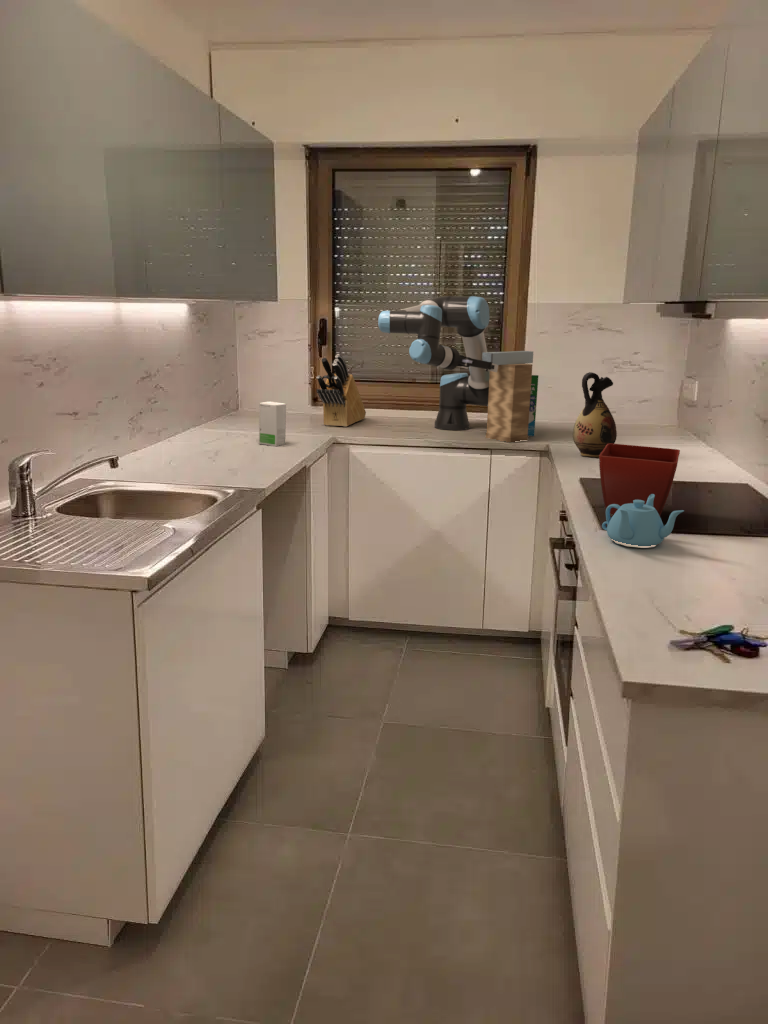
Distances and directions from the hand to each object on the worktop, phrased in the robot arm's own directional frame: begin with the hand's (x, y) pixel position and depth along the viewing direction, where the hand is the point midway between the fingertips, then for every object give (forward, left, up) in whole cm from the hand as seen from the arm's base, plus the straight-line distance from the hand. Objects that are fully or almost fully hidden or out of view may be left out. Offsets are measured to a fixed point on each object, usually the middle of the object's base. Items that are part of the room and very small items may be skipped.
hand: (482, 366), depth 295 cm
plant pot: (+91, -33, -30) cm, 101 cm away
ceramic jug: (+33, +24, -30) cm, 51 cm away
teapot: (+107, -55, -30) cm, 124 cm away
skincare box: (-48, -61, -30) cm, 83 cm away
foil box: (-7, +21, 0) cm, 22 cm away
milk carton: (-12, +38, -30) cm, 50 cm away
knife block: (-73, -11, -30) cm, 80 cm away
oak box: (-7, +23, -30) cm, 39 cm away
